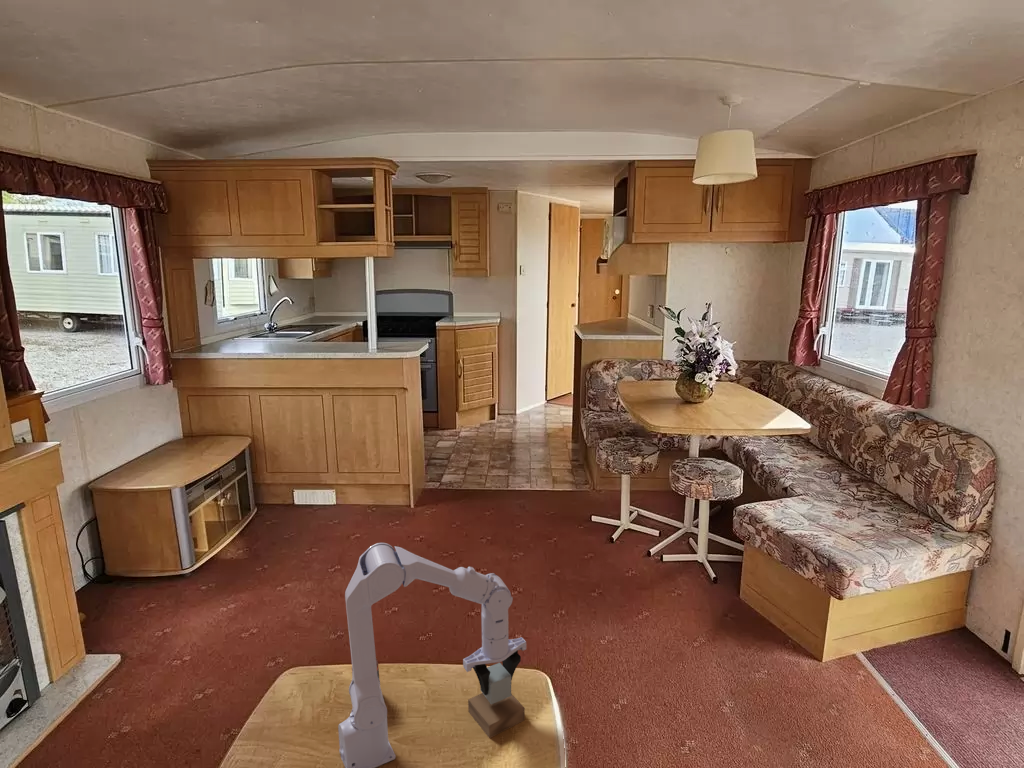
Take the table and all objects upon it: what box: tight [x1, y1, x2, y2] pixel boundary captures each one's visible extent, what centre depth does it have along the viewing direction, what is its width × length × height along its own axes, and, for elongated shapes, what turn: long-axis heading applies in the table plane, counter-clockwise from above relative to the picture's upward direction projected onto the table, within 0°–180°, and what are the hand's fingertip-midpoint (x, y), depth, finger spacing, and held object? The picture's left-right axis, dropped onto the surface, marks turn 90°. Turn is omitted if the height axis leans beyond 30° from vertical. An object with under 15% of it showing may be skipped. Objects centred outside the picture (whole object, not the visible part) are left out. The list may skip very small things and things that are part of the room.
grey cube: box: [479, 662, 512, 704], centre depth 128 cm, size 5×5×5 cm
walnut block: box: [467, 692, 526, 739], centre depth 129 cm, size 9×9×4 cm
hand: (495, 687), depth 128 cm, fingers closed on grey cube, 5 cm apart
